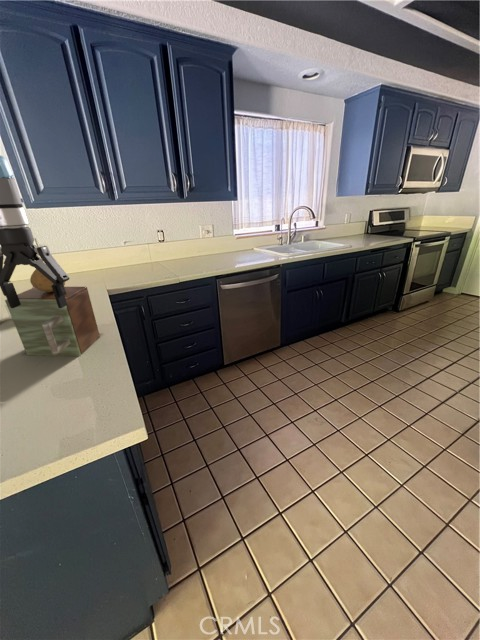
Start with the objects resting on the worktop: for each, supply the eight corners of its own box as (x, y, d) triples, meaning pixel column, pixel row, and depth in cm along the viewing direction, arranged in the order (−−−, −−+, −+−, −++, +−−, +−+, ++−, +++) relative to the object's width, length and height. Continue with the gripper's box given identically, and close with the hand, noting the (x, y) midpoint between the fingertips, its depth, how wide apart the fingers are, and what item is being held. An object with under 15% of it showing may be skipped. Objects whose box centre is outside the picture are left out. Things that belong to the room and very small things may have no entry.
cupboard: (81, 354, 89) (65, 298, 81) (30, 353, 90) (7, 298, 81) (100, 337, 100) (86, 286, 91) (53, 336, 101) (36, 286, 92)
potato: (64, 283, 95) (58, 261, 92) (73, 292, 86) (66, 268, 82) (31, 289, 89) (23, 265, 86) (37, 299, 80) (28, 274, 76)
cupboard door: (66, 368, 82) (46, 309, 73) (10, 367, 82) (-17, 309, 74) (81, 354, 89) (64, 299, 80) (29, 353, 89) (7, 299, 81)
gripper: (-54, 229, 62) (-16, 311, 71) (49, 227, 62) (74, 311, 71) (-24, 226, 69) (7, 301, 78) (69, 224, 68) (90, 301, 77)
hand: (39, 306), depth 74 cm, fingers open, 13 cm apart
